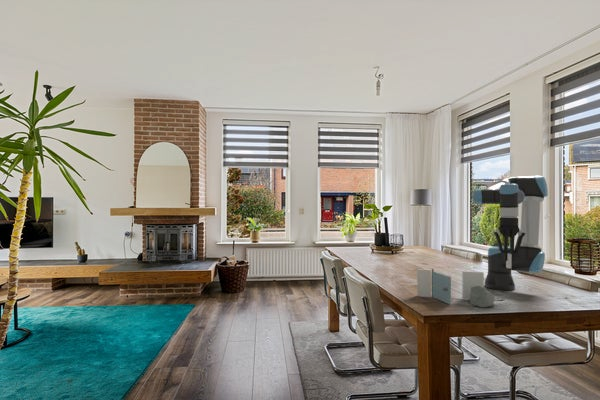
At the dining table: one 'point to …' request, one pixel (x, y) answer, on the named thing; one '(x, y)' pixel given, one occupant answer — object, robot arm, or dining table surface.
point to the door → (442, 287)
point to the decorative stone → (481, 297)
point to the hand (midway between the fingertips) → (508, 267)
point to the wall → (467, 282)
